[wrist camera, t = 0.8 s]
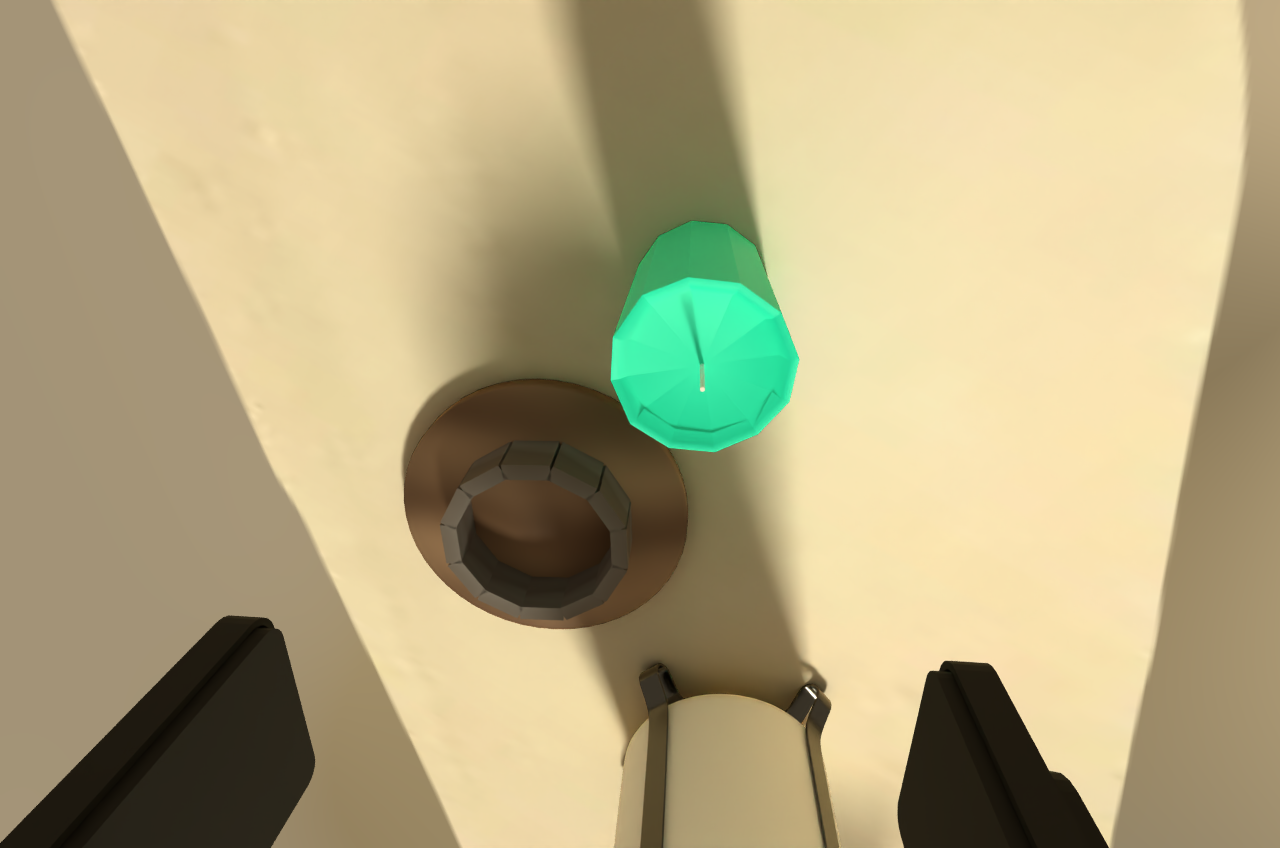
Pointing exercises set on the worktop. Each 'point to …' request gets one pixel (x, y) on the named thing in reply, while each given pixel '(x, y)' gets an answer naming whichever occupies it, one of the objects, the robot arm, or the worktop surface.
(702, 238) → the candle
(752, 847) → the coffee press
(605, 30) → the worktop surface
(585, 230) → the worktop surface
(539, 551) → the candle holder
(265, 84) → the worktop surface
